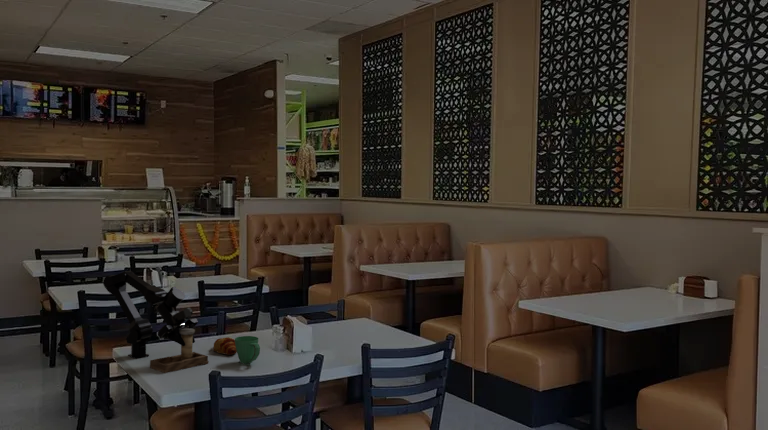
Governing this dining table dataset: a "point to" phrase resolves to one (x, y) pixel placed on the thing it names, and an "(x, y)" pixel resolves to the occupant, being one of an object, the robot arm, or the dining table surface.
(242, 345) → the mug
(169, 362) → the tray
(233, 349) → the croissant
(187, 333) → the peg
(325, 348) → the dining table surface
